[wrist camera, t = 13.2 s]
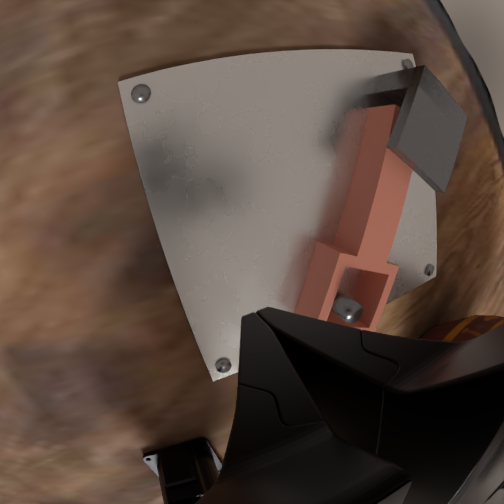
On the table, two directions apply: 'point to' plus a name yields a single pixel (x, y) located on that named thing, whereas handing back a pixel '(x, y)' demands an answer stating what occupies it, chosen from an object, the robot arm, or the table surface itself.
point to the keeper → (423, 123)
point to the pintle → (346, 308)
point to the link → (362, 230)
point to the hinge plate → (262, 180)
